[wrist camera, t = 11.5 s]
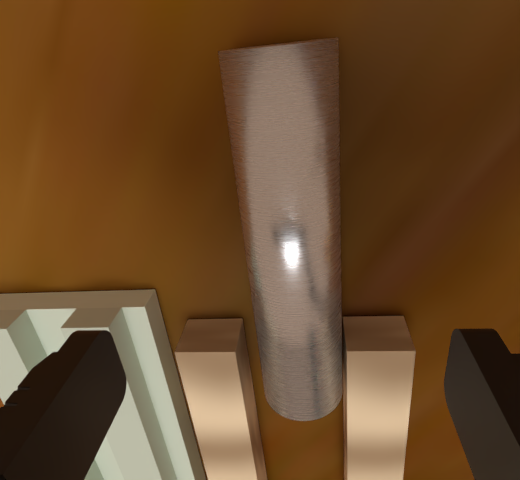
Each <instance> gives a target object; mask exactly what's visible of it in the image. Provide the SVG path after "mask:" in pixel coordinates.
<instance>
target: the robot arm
mask: <svg viewBox="0 0 520 480" xmlns="http://www.w3.org/2000/svg"><path fill="white" fill-rule="evenodd" d="M126 384H127V381H126V374H125V371H124V368H123V365H122V363H121V360H120V357H119V354H118V351H117V348H116V345H115V343H114V340H113V337H112V335H111V333H110V332H109V331H107V330H77V331H75V332H73V333H72V334H71V335H70V336H69V337H68V339H67V340H66V341H65V343H64V344H63V345H62V347H61V348H60V349H59V350H58V352H52V353H51V354H50V355H49V356H47V357H46V358H45V359H43V360H42V361H41V362H40V363H38V364H37V365H36V366H34V367H33V368H32V369H31V370H30V372H29V373H28V374H27V375H26V377H25V378H24V379H23V380H22V382H21V383H20V384H19V385H18V389H17V391H14V392H13V393H12V394H11V395H10V397H9V398H8V399H7V400H6V401H5V405H4V407H1V408H0V480H84V479H85V477H86V475H87V473H88V471H89V469H90V467H91V465H92V463H93V461H94V459H95V457H96V455H97V453H98V451H99V449H100V447H101V445H102V442H103V440H104V438H105V436H106V434H107V432H108V430H109V428H110V426H111V424H112V422H113V420H114V418H115V416H116V414H117V412H118V410H119V408H120V406H121V404H122V402H123V399H124V396H125V393H126ZM444 389H445V397H446V402H447V406H448V409H449V412H450V414H451V417H452V420H453V422H454V425H455V428H456V430H457V433H458V436H459V438H460V441H461V444H462V446H463V449H464V452H465V454H466V457H467V460H468V462H469V465H470V468H471V470H472V473H473V476H474V478H475V480H520V354H511V353H510V352H509V350H508V348H507V347H506V345H505V344H504V342H503V341H502V339H501V337H500V336H499V334H498V333H497V332H496V331H495V330H494V329H455V330H454V331H453V333H452V336H451V342H450V348H449V354H448V360H447V366H446V372H445V379H444Z"/></svg>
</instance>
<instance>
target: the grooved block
mask: <svg viewBox="0 0 520 480" xmlns="http://www.w3.org/2000/svg"><path fill="white" fill-rule="evenodd" d="M77 330H107V331H109V332H110V333H111V335H112V337H113V340H114V343H115V345H116V348H117V351H118V354H119V357H120V360H121V363H122V365H123V368H124V371H125V374H126V381H127V384H126V393H125V396H124V399H123V402H122V404H121V406H120V408H119V410H118V412H117V414H116V416H115V418H114V420H113V422H112V424H111V426H110V428H109V430H108V432H107V434H106V436H105V438H104V440H103V442H102V445H101V447H100V449H99V451H98V453H97V455H96V457H95V459H94V461H93V463H92V465H91V467H90V469H89V471H88V473H87V475H86V477H85V479H84V480H206V477H205V474H204V470H203V466H202V462H201V459H200V455H199V451H198V447H197V444H196V440H195V436H194V433H193V429H192V425H191V421H190V418H189V414H188V410H187V406H186V403H185V399H184V395H183V392H182V388H181V384H180V380H179V377H178V373H177V369H176V366H175V362H174V358H173V354H172V351H171V347H170V343H169V339H168V336H167V332H166V328H165V325H164V321H163V317H162V313H161V310H160V306H159V302H158V298H157V295H156V291H155V289H151V290H115V291H80V292H45V293H9V294H0V398H1V400H2V401H3V403H4V405H5V401H6V400H7V399H8V398H9V397H10V395H11V394H12V393H13V392H14V391H17V389H18V385H19V384H20V383H21V382H22V380H23V379H24V378H25V377H26V375H27V374H28V373H29V372H30V370H31V369H32V368H33V367H34V366H36V365H37V364H38V363H40V362H41V361H42V360H43V359H45V358H46V357H47V356H49V355H50V354H51V353H52V352H58V350H59V349H60V348H61V347H62V345H63V344H64V343H65V341H66V340H67V339H68V337H69V336H70V335H71V334H72V333H73V332H75V331H77Z"/></svg>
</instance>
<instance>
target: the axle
mask: <svg viewBox="0 0 520 480" xmlns="http://www.w3.org/2000/svg"><path fill="white" fill-rule="evenodd" d="M218 55H219V63H220V70H221V77H222V84H223V92H224V99H225V106H226V114H227V121H228V128H229V135H230V143H231V150H232V157H233V165H234V172H235V179H236V187H237V194H238V201H239V208H240V216H241V223H242V230H243V238H244V245H245V252H246V259H247V267H248V274H249V281H250V289H251V296H252V303H253V310H254V318H255V325H256V332H257V340H258V347H259V354H260V361H261V369H262V376H263V383H264V391H265V397H266V400H267V402H268V404H269V405H270V406H271V408H272V409H273V410H274V411H276V412H277V413H278V414H280V415H281V416H283V417H286V418H288V419H292V420H297V421H311V420H316V419H319V418H322V417H324V416H326V415H328V414H329V413H330V412H332V411H333V410H334V409H335V408H336V407H337V405H338V404H339V402H340V400H341V397H342V308H341V220H340V132H339V44H338V38H326V39H315V40H305V41H296V42H287V43H279V44H270V45H261V46H252V47H245V48H237V49H230V50H223V51H218Z"/></svg>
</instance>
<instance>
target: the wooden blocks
mask: <svg viewBox="0 0 520 480" xmlns="http://www.w3.org/2000/svg"><path fill="white" fill-rule="evenodd" d="M415 353H416V351H415V348H414V345H413V342H412V339H411V336H410V333H409V330H408V327H407V325H406V322H405V319H404V316H355V317H343V420H344V480H403V472H404V462H405V452H406V442H407V432H408V423H409V413H410V403H411V393H412V383H413V373H414V363H415ZM175 356H176V360H177V364H178V368H179V371H180V375H181V379H182V383H183V386H184V390H185V394H186V398H187V402H188V405H189V409H190V413H191V417H192V420H193V424H194V428H195V432H196V436H197V439H198V443H199V447H200V451H201V455H202V458H203V462H204V466H205V470H206V473H207V477H208V480H267V474H266V468H265V461H264V455H263V448H262V442H261V435H260V429H259V422H258V415H257V409H256V402H255V396H254V389H253V383H252V376H251V370H250V363H249V357H248V350H247V344H246V337H245V331H244V324H243V318H238V319H188V321H187V323H186V325H185V328H184V330H183V333H182V335H181V338H180V340H179V342H178V345H177V347H176V350H175Z"/></svg>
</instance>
